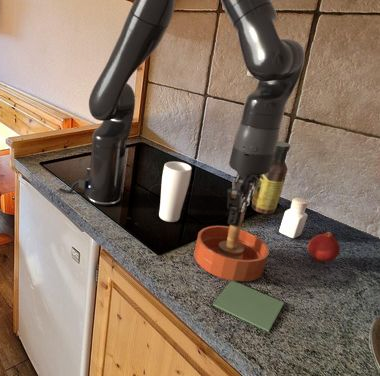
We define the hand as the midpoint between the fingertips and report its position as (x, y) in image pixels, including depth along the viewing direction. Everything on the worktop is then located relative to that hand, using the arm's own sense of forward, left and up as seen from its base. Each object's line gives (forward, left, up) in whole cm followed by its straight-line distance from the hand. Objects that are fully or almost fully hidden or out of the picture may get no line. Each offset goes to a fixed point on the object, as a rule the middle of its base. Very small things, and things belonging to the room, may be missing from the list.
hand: (235, 222), depth 87 cm
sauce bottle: (-1, +32, -10) cm, 33 cm away
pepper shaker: (+8, +23, -10) cm, 26 cm away
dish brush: (+1, 0, -9) cm, 9 cm away
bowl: (+1, -1, -10) cm, 10 cm away
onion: (+16, +14, -10) cm, 23 cm away
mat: (+9, -12, -10) cm, 18 cm away
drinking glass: (-18, +9, -10) cm, 23 cm away
